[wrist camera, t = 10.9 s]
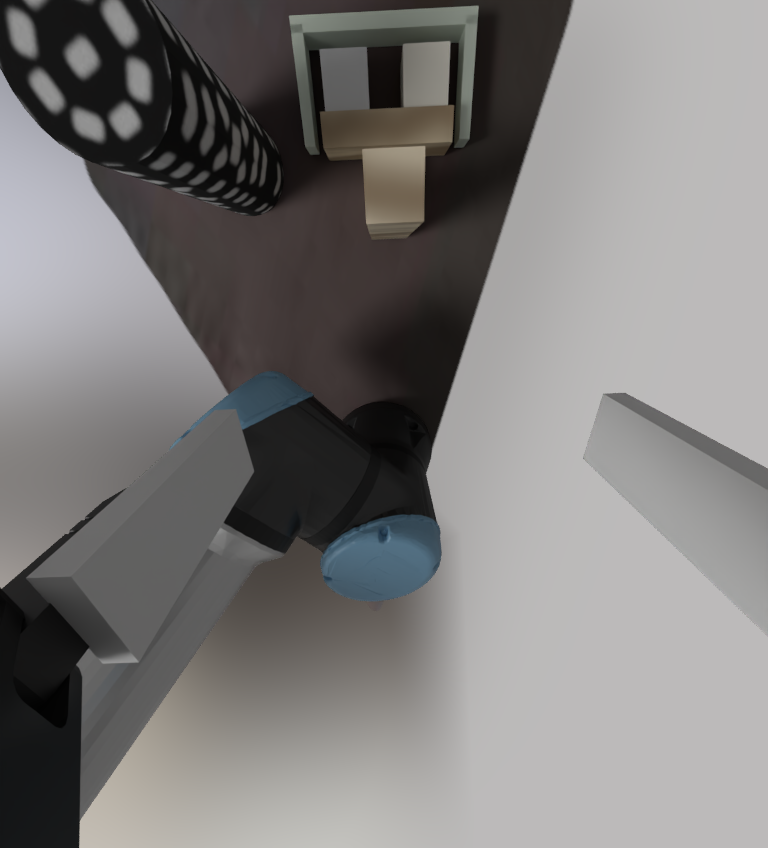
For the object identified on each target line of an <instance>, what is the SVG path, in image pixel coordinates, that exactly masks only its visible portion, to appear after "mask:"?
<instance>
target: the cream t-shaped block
mask: <svg viewBox="0 0 768 848" xmlns="http://www.w3.org/2000/svg"><path fill="white" fill-rule="evenodd" d="M453 118H454V105H444V106H424V107H404V108H384V109H364V110H344V111H324V112H320V119H321V129H322V139H323V148H324V150H325V152H326V154H327V156H328V158H329V160H330V161H336V160H357V159H363V173H364V190H365V208H366V224H367V227H368V230H369V233H370V236H371V238H372V240H375V239H396V238H407V237H408V236H409V235H410V234H411V233H412V232H413V231H414V230H415V229H417V228H418V227H419V226H420V225H421V224H422V223H423V222H424V194H425V156H439V155H445V153H446V152H447V150H448V148H449V147H450V145H451V143H452V139H453Z"/></svg>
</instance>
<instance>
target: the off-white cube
mask: <svg viewBox="0 0 768 848" xmlns="http://www.w3.org/2000/svg"><path fill="white" fill-rule="evenodd" d="M449 66H450V41H443V42H425V43H408V44H403V48H402V58H401V68H400V88H401V108H404V107H424V106H444V105H448V91H449Z"/></svg>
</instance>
